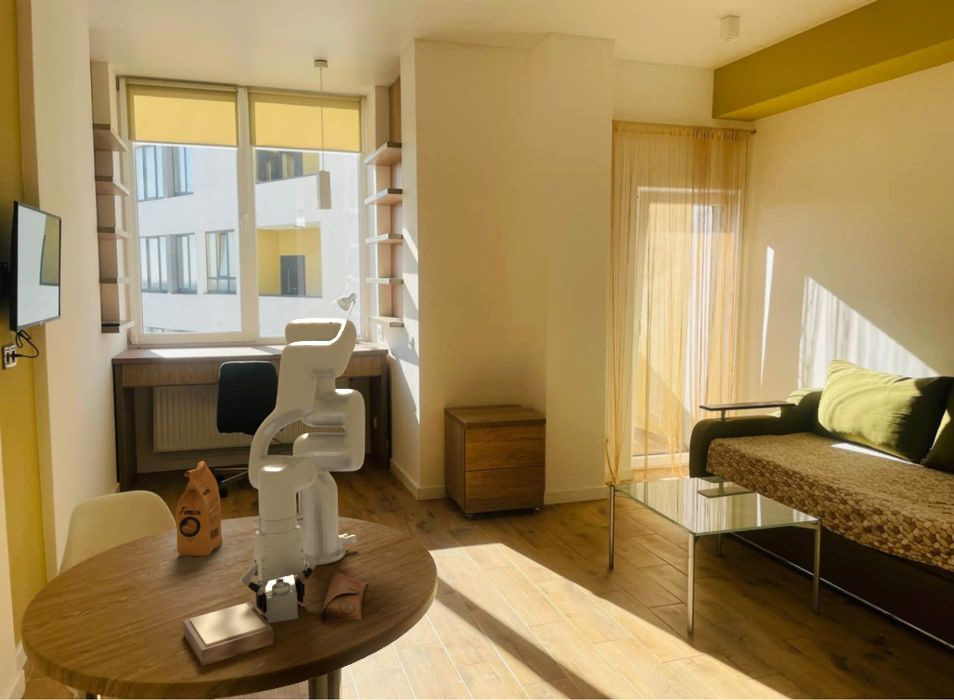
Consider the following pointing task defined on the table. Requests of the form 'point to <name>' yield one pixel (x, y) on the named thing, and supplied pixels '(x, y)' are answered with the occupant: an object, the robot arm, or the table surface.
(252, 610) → the stand
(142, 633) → the table surface
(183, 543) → the coffee package
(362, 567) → the table surface
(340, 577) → the sunglasses case
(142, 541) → the table surface
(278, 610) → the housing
